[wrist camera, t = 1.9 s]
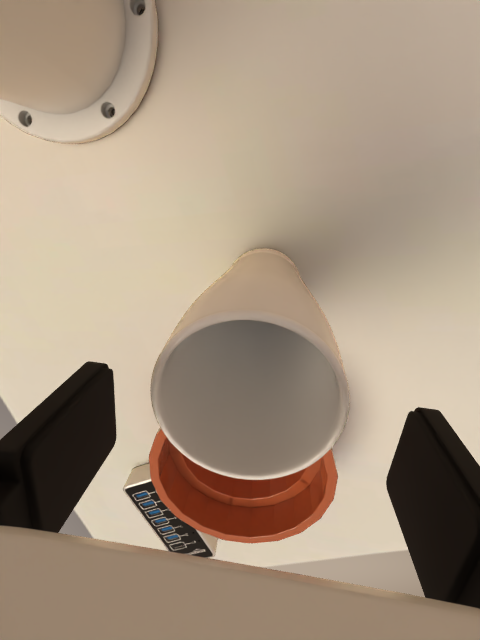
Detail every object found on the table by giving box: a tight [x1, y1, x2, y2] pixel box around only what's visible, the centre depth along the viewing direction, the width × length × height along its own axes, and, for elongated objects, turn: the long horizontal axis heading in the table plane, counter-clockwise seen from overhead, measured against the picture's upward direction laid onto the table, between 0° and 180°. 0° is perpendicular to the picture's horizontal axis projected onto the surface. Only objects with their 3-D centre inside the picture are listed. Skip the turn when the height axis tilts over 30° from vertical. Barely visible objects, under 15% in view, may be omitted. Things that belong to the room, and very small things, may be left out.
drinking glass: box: [151, 248, 350, 480], centre depth 18 cm, size 7×7×15 cm
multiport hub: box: [123, 463, 218, 558], centre depth 33 cm, size 4×11×2 cm, turn 25°
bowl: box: [149, 427, 338, 543], centre depth 27 cm, size 13×13×6 cm
